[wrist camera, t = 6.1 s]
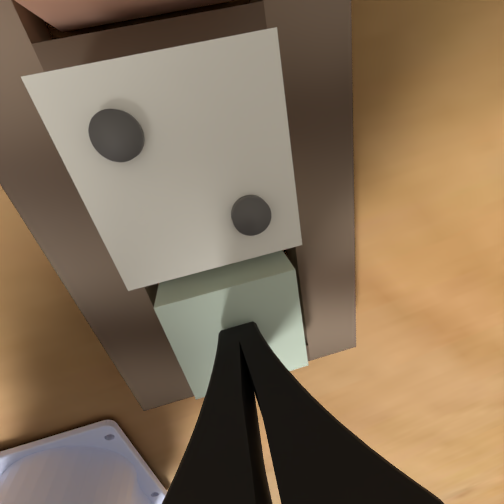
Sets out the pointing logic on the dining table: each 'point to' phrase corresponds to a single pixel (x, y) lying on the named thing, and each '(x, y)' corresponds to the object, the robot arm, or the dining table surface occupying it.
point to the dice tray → (303, 156)
